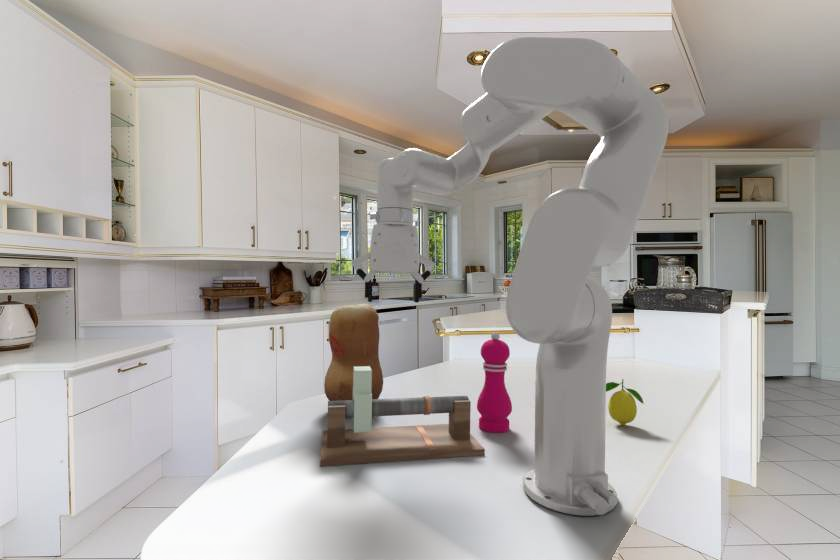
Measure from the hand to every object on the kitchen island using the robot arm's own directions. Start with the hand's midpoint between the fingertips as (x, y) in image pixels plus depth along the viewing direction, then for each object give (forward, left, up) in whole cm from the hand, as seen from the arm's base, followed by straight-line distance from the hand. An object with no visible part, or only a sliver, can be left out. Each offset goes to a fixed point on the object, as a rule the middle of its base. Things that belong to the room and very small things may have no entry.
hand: (393, 301), depth 87 cm
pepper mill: (-4, -21, -26) cm, 34 cm away
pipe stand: (-10, 0, -26) cm, 28 cm away
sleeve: (-10, +7, -22) cm, 25 cm away
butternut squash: (+12, +7, -26) cm, 30 cm away
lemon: (-7, -49, -26) cm, 56 cm away
